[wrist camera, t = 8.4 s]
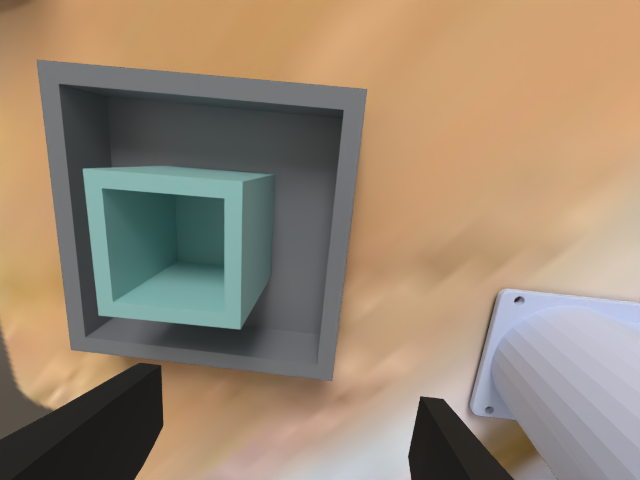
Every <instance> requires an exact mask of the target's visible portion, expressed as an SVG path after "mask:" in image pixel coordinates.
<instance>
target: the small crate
mask: <svg viewBox="0 0 640 480" xmlns="http://www.w3.org/2000/svg"><path fill="white" fill-rule="evenodd" d="M83 177H84V186H85V195H86V204H87V213H88V223H89V232H90V241H91V250H92V259H93V268H94V278H95V287H96V296H97V305H98V314H99V316H109V317H120V318H130V319H140V320H150V321H160V322H170V323H180V324H190V325H200V326H210V327H220V328H230V329H241V328H242V326H243V324H244V322H245V321H246V319H247V317H248V315H249V314H250V312H251V310H252V309H253V307H254V305H255V303H256V302H257V300H258V298H259V296H260V295H261V293H262V291H263V290H264V288H265V286H266V284H267V283H268V281H269V279H270V277H271V266H272V241H273V216H274V191H275V174H267V173H254V172H242V171H230V170H217V169H205V168H192V167H180V166H142V167H113V168H85V169H83Z"/></svg>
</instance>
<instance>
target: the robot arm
mask: <svg viewBox="0 0 640 480" xmlns="http://www.w3.org/2000/svg"><path fill="white" fill-rule="evenodd" d="M518 296H520V300H519V301H517V302H514V300H515V298H516V297H518ZM487 407H490V408H488V409H486V408H487ZM470 408H471V410H472V412H473V413H474V414H475V415H478V416H485V417H493V418H502V419H510V420H517V422H518V423H519V425H520V426H521V428H522V429H523V431H524V432H525V433H526V435H527V436H528V438H529V439H530V441H531V442H532V444H533V445H534V447H535V448H536V450H537V451H538V452H539V454H540V455H541V457H542V458H543V460H544V461H545V463H546V464H547V466H548V467H549V469H550V470H551V472H552V473H553V474H554V476H555V477H556V479H557V480H640V303H639V302H629V301H620V300H611V299H602V298H592V297H583V296H574V295H564V294H555V293H546V292H537V291H527V290H518V289H503V290H501V291H500V292H499V293H498V295H497V298H496V302H495V306H494V310H493V314H492V318H491V322H490V326H489V330H488V334H487V338H486V342H485V346H484V350H483V354H482V357H481V361H480V365H479V369H478V373H477V377H476V381H475V385H474V389H473V393H472V397H471V401H470ZM162 427H163V403H162V376H161V365H154V364H146V363H139V364H137V365H135V366H133V367H131V368H129V369H127V370H125V371H123V372H122V373H120V374H118V375H116V376H115V377H113V378H111V379H109V380H108V381H106V382H104V383H102V384H101V385H99V386H97V387H95V388H94V389H92V390H90V391H88V392H87V393H85V394H83V395H81V396H80V397H78V398H76V399H74V400H73V401H71V402H69V403H67V404H66V405H64V406H62V407H60V408H58V409H57V410H55V411H53V412H52V413H50V414H48V415H46V416H44V417H43V418H40V419H38V420H37V421H35V422H33V423H31V424H29V425H27V426H25V427H23V428H21V429H20V430H18V431H16V432H14V433H12V434H10V435H8V436H6V437H4V438H3V439H1V440H0V480H134V479H135V478H136V476H137V474H138V473H139V471H140V470H141V468H142V466H143V465H144V463H145V461H146V459H147V457H148V455H149V453H150V451H151V450H152V448H153V446H154V444H155V442H156V440H157V438H158V435H159V433H160V431H161V429H162ZM408 459H409V466H410V473H411V480H514V479H513V478H512V477H511V476H510V475H509V474H508V472H507V471H506V470H505V469H504V468H503V467H502V466H501V465H500V464H499V463H498V461H497V460H496V459H495V458H494V457H493V456H492V455H491V454H490V452H489V451H488V450H487V449H486V448H485V447H484V446H483V444H482V443H481V442H480V441H479V440H478V439H477V438H476V436H475V435H474V434H473V433H472V432H471V431H470V429H469V428H468V427H467V426H466V425H465V424H464V422H463V421H462V420H461V419H460V418H459V417H458V415H457V414H456V413H455V412H454V411H453V410H452V408H451V407H450V406H449V405H448V404H447V403H446V402H445V401H444V399H439V398H430V397H422V396H420V401H419V406H418V411H417V416H416V421H415V426H414V431H413V435H412V440H411V445H410V450H409V455H408Z"/></svg>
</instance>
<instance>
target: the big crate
mask: <svg viewBox="0 0 640 480" xmlns="http://www.w3.org/2000/svg"><path fill="white" fill-rule="evenodd" d="M37 67H38V76H39V84H40V92H41V101H42V109H43V118H44V126H45V135H46V143H47V152H48V160H49V168H50V177H51V185H52V194H53V202H54V211H55V219H56V227H57V236H58V244H59V253H60V261H61V270H62V278H63V287H64V295H65V303H66V312H67V320H68V329H69V337H70V346H71V350H76V351H84V352H92V353H101V354H109V355H118V356H126V357H135V358H143V359H151V360H160V361H168V362H177V363H185V364H193V365H202V366H210V367H219V368H227V369H235V370H244V371H252V372H261V373H269V374H277V375H286V376H294V377H303V378H311V379H319V380H328V381H332V378H333V369H334V361H335V353H336V344H337V336H338V328H339V320H340V311H341V303H342V295H343V286H344V278H345V270H346V261H347V253H348V245H349V236H350V228H351V220H352V212H353V203H354V195H355V187H356V178H357V170H358V162H359V153H360V145H361V137H362V128H363V120H364V112H365V103H366V95H367V89H359V88H348V87H337V86H326V85H315V84H303V83H292V82H281V81H270V80H258V79H247V78H236V77H225V76H213V75H202V74H191V73H180V72H169V71H157V70H146V69H135V68H124V67H112V66H101V65H90V64H79V63H68V62H56V61H45V60H37ZM142 166H180V167H192V168H205V169H217V170H230V171H242V172H254V173H267V174H275V191H274V216H273V241H272V266H271V277H270V279H269V281H268V283H267V284H266V286H265V288H264V290H263V291H262V293H261V295H260V296H259V298H258V300H257V302H256V303H255V305H254V307H253V309H252V310H251V312H250V314H249V315H248V317H247V319H246V321H245V322H244V324H243V326H242V328H241V329H230V328H220V327H210V326H200V325H190V324H180V323H170V322H160V321H150V320H140V319H130V318H120V317H109V316H99V314H98V305H97V296H96V287H95V278H94V268H93V259H92V250H91V241H90V232H89V223H88V213H87V204H86V195H85V186H84V177H83V169H85V168H113V167H142Z"/></svg>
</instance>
